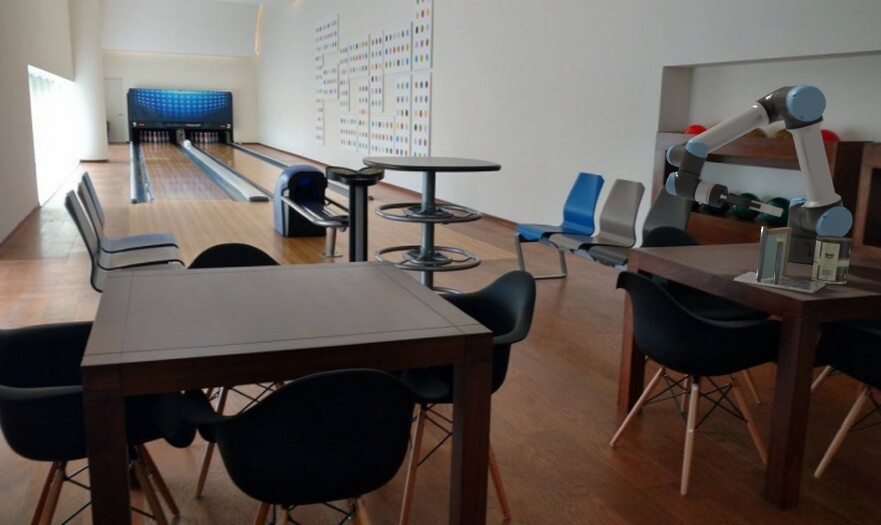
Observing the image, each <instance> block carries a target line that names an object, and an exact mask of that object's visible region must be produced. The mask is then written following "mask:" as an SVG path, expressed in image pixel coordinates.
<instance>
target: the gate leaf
mask: <svg viewBox="0 0 881 525" xmlns="http://www.w3.org/2000/svg"><path fill="white" fill-rule="evenodd" d="M791 232H792V228H790V227H787V226H786V227H785V226H784V227H775V228H767V234H766V242H765V251H764V259H763V268H762V276H761V279H766V278H772V277H774V268H775V260H776V252H777V243H778V241H776V239H777V237H784V238H785V242H783V250H782V258H781V266H780V274H779V276H782V277H784V276H786V275H787V270H788V263H789V261H788V255H789V247H790V239H791Z"/></svg>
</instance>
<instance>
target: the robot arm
mask: <svg viewBox="0 0 881 525" xmlns="http://www.w3.org/2000/svg"><path fill="white" fill-rule="evenodd" d="M826 106H827V99H826V97H825V94H824V92H823V91H822V90H821V89H820V88H819V87H816V86H813V85H809V84H798V85H791V86H790V85H788V86H782V87H780V88H777V89H775V90H773V91H772V92H769V93H768V94H766V95H765V96H763V97H761V98H759V99H757V100H755V101H754V102H752V104H751V106H750V107H748V108H747V109H744V110H742V111H740V112H739V113H737V114H735V115H733V116H732V117H730V118H727V119H726V120H724V121H722V122H720V123H718V124H717V125H714V126H713V127H711V128H709V129H707V130H705V131H703V132H701V133H699V134H698V135H696V136H694V137H692V138H689V139H688V140H686V141H684V142H683V143H680V144H675V145H672V146H669V148H668V149H667V151H666V155H665V156H666V160H667V162H668V163H669V164H670V165H672V166H674V167H677V168H678V170H677V171H676V172H674V171H673V172H671V173H670V174H669V175H668V178H667V180H666V183H665V191H666V192H667V193H668V194H670V195H673V196H676V197H679V198H682V199H687V200H689V201H694V202H698V205H702V204H705V205H709V206H712V207H714V208H715V207H716V208H721V207H723V206H724V204H725V202H726V205H728V206H733V207H734V206H735V207H738V208H744V210H747V211H748V210H749V209H750V210H753V211H757V212H760V213H764V214H768V215H770V216H771V215H772V216H775V217H779V218H781V216H782V214H783V212H784V208H781V207H777V206H774V205H771V204H768V203H765V202H764V201H762V200H761V201H756V200H753V199H752V200H751V199H748V198H745V197H744V196H741V195H738V194H736V193H733V192H729V189H728V186H727V185H723V184H720V183H715V182H714V181H709V180H706V179H701V175H702V171H703V169H704V167H705V163H706V160H707V158H708V156H709V155H708V154H709V153H712V152H713V151H715V150H717V149H719V148H721V147H723V146H725V145H726V144H729V143H731V142H733V141H735V140H736V139H739V138H740V137H742V136H744V135H746V134H748V133H751V132H752V131H754V130H756V129H758V128H760V127H762V126H763V127H768V126H770V125H772V124H775V123H777V122H783V121H784V122H783V123H784V126H785V130H786V131H787V132H789V133H791V135H792V139H793V142H794V146H795V147H794V148H795V151H796V156H797V159H798V164H799V168H800V172H801V176H802V180H803V185H804V188H805V193H806V197H794V198H792V199H791V200H790V203H789V207H788V217H787V225H786V227H790V228H792V232H791V239H790V247H789V255H788V262H793V263H799V264H800V263H801V264H814V256H815V248H816V240H817V239H816V237H817V236H824V235H825V236H839V237H845V235H846V234H848V233H849V230H850V229H852V228H851V227H852V225H853V215H852V213H851V211H850V210H849V209H847V208H846V207H844V204H843V199H842V197H841V195H839V194H837V193H836V191H835V187H834V184H833V183H834V182H833V179H832V176H831V170H830V167H829V166H830V165H829V161H828V157H827V153H826V149H825V144H824V139H823V135H822V131H821V125H822V124H823V122H824V117H823V114H824V112H825V110H826ZM728 193H729V194H728Z"/></svg>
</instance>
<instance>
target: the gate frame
mask: <svg viewBox="0 0 881 525" xmlns="http://www.w3.org/2000/svg"><path fill="white" fill-rule="evenodd" d="M767 229H768V226H761V230H760V239H759V245H758V257H757V265H756V272H755V271H754V272H753V271H747V272H746V273H742V274H741V275H739V276H736V277H733V281H734V282H739V283H740V282H741V283H747V284H753V285H758V286H764V287H769V288H771V287H772V288H776V289H783V290H790V291H794V292H801V293H802V292H803V293H806V294H807V293H809V294H815V293H816V292H817V291H818V290H820V289H821V288H824V287H826V283H822V282H817V281H814V280H807V279H801V278H795V277H789V276H779V274H780V266H781V258H782V250H783V242H785V238H784V237H777V239H776V241H778V243H777V252H776V260H775V268H774V277H772V278H766V279H761V276H762V268H763V259H764V251H765V242H766V234H767Z"/></svg>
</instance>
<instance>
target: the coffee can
mask: <svg viewBox="0 0 881 525" xmlns="http://www.w3.org/2000/svg"><path fill="white" fill-rule="evenodd" d="M816 239H817V240H816V248H815V256H814V263H812V264H813V266H812V272H811V273H812V274H811V281H815V282H822V283H825V284H829V285H844V284H847V280H848V273H849V266H850V258H851V252H852V246H853V245H852V244H853V240H854V239H853V238H850V237H847V236H842V237H839V236H825V235H824V236H817V237H816Z"/></svg>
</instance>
